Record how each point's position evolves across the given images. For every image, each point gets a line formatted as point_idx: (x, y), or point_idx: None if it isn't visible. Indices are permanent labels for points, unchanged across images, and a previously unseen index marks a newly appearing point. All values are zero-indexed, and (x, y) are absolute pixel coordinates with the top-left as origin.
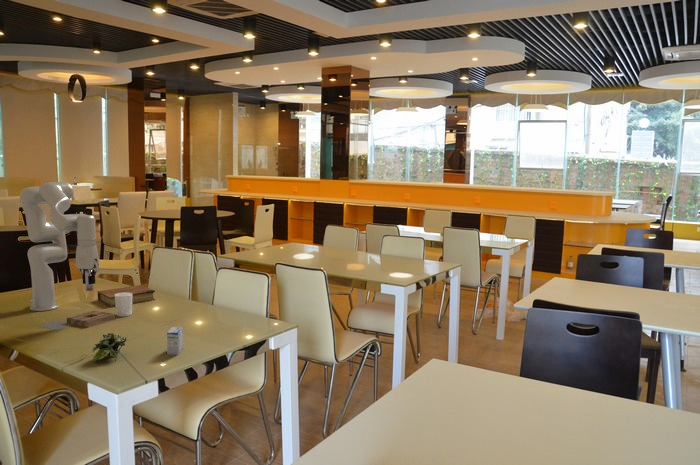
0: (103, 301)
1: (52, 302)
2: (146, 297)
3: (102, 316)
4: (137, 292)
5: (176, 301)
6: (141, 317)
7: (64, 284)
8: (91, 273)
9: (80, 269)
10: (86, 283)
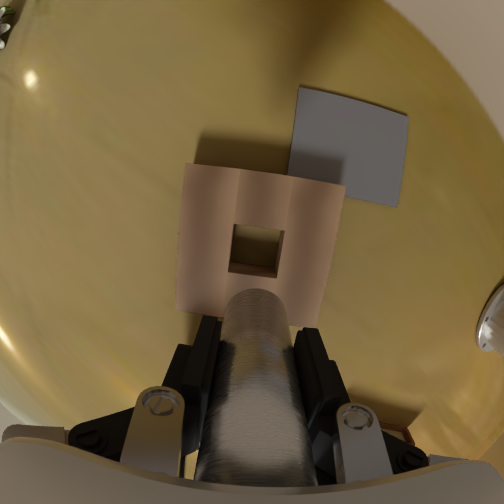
0: (384, 428)
1: (494, 332)
2: None
3: (193, 261)
4: None
5: (191, 473)
6: (132, 353)
7: (498, 432)
8: (135, 419)
9: (414, 462)
10: (256, 326)
